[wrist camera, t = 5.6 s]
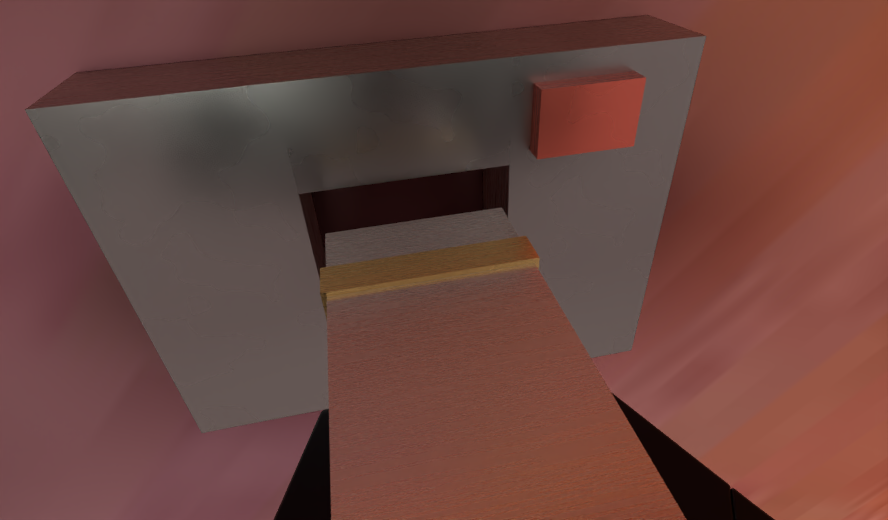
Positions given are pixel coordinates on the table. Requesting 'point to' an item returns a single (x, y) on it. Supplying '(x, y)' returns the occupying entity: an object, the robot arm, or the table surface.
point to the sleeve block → (365, 182)
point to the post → (468, 385)
